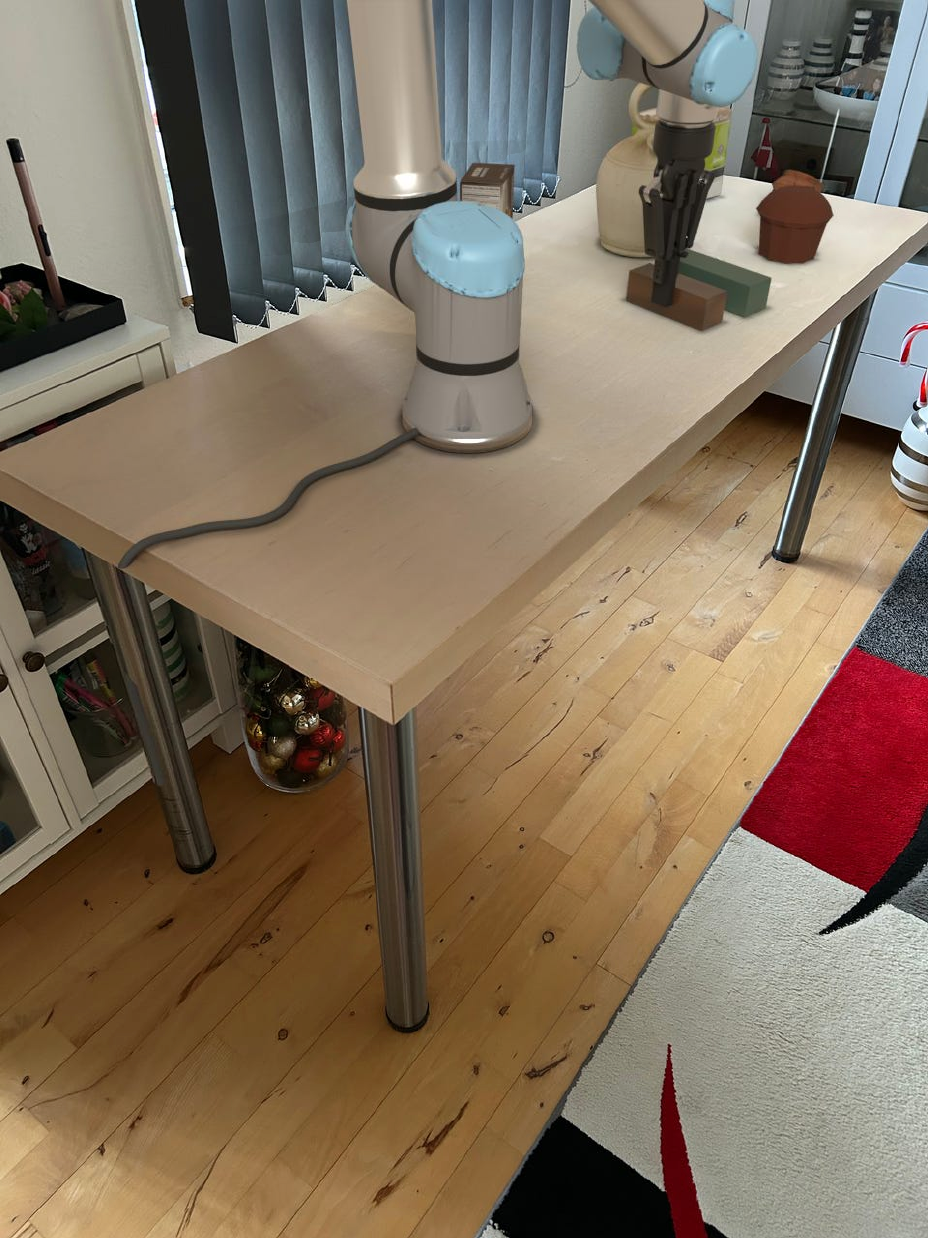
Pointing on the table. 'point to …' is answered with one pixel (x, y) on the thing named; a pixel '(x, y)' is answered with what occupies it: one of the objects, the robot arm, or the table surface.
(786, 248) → the muffin
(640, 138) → the jug
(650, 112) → the tea box
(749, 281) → the green bar
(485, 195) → the coffee box
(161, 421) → the table surface
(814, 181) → the bread bun
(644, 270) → the walnut bar
